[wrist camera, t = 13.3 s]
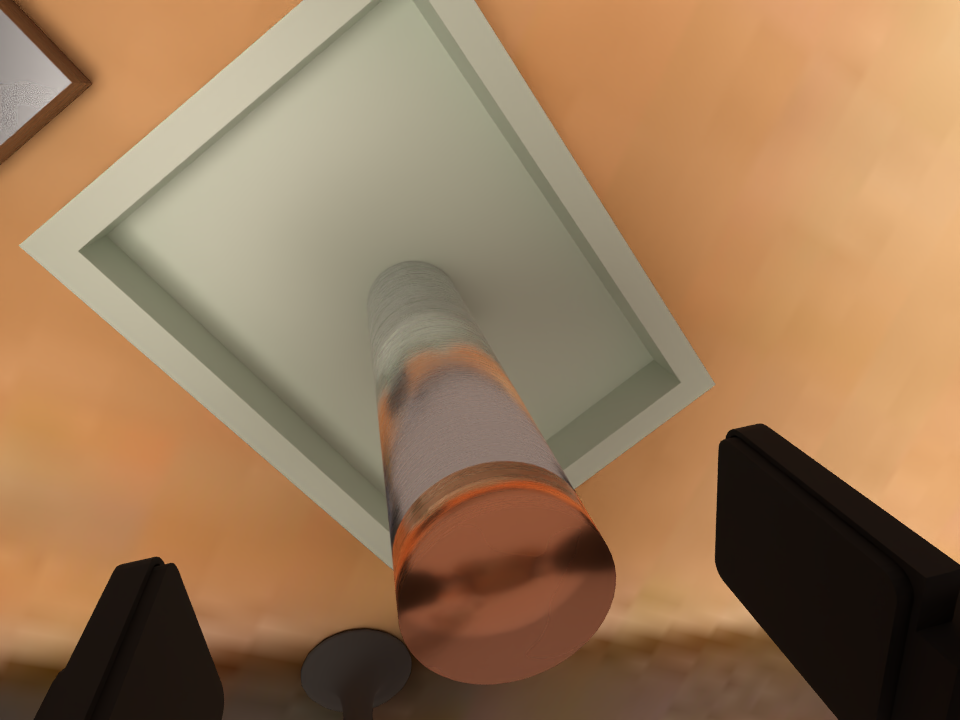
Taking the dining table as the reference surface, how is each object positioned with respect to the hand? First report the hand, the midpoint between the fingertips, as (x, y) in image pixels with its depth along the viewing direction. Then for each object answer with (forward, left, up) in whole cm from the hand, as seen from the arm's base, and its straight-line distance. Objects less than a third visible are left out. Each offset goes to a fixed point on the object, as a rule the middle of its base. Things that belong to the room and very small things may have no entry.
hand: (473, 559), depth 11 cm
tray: (0, -1, -13) cm, 13 cm away
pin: (0, -1, -13) cm, 13 cm away
